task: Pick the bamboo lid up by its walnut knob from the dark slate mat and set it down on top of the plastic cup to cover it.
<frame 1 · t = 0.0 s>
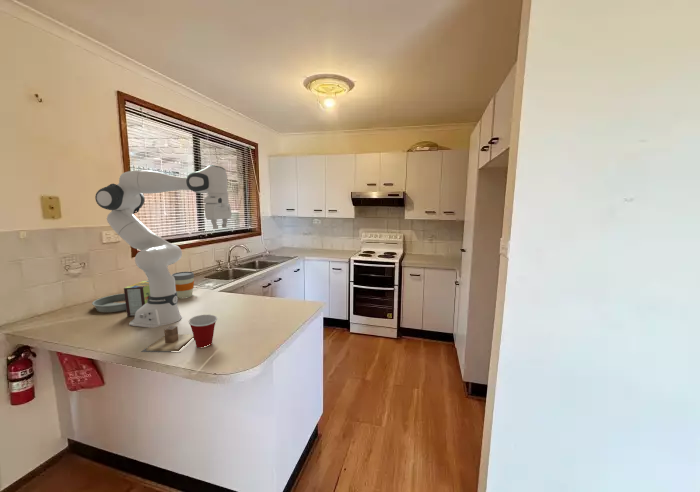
hand: (220, 228, 141), 48 cm above the table, fingers open, 8 cm apart
mat: (172, 344, 123), on the table
protein box: (146, 311, 160), on the table, touching arm
lid: (172, 343, 123), resting on mat
cake pan: (120, 306, 169), on the table
reusable coffee cup: (184, 296, 187), on the table
plastic cup: (204, 346, 122), on the table
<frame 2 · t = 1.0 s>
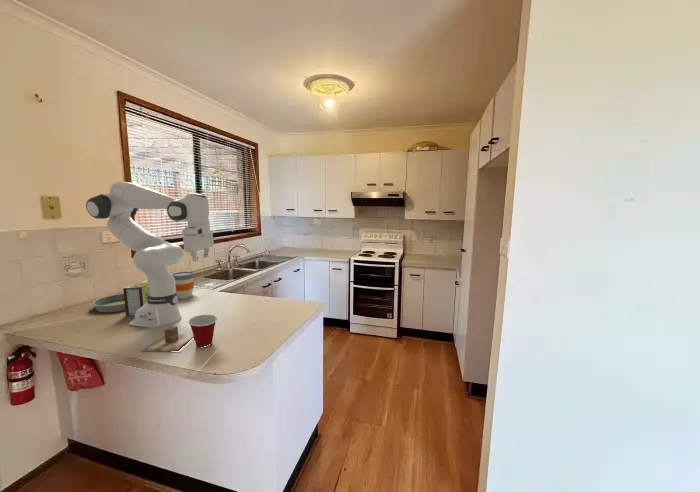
hand: (200, 259, 133), 34 cm above the table, fingers open, 8 cm apart
protein box: (145, 311, 161), on the table
everything else where it was.
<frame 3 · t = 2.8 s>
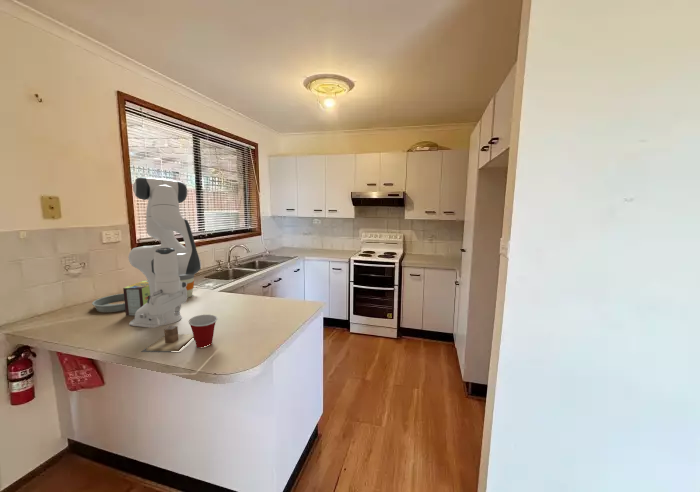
hand: (170, 319, 121), 11 cm above the table, fingers open, 8 cm apart
nothing on the table moved.
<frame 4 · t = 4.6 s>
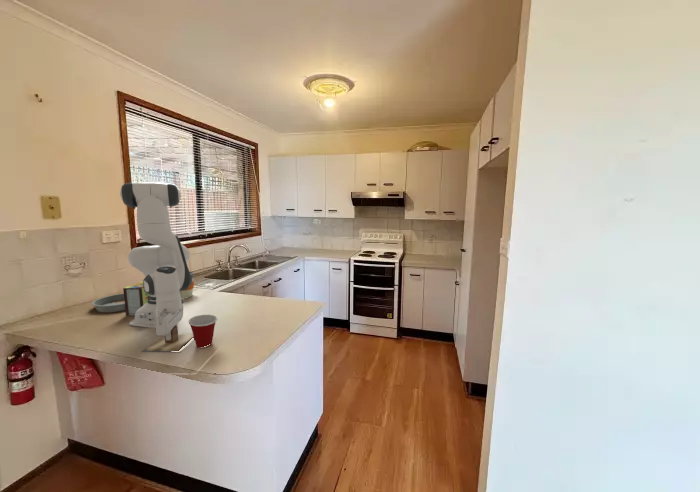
hand: (171, 336, 123), 3 cm above the table, fingers closed on lid, 4 cm apart
lid: (172, 343, 123), resting on mat, touching gripper
everything else where it was.
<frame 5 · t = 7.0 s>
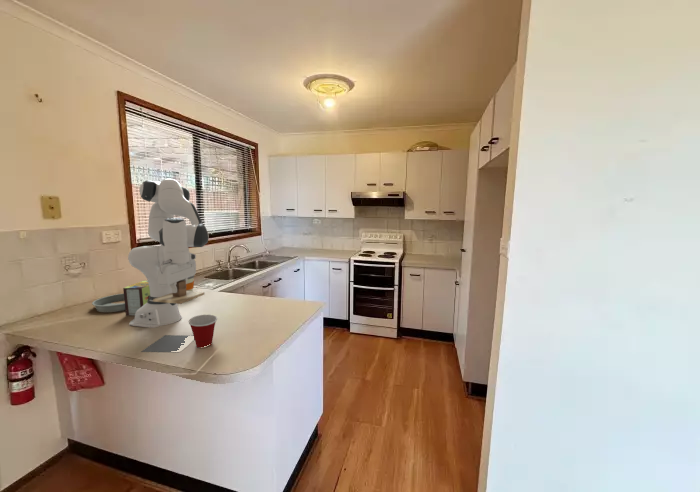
hand: (179, 290, 119), 24 cm above the table, fingers closed on lid, 4 cm apart
lid: (179, 297, 119), point 21 cm above the table, touching gripper
everything else where it was.
when the fingers open (16 cm above the table, at t = 9.6 s): lid stays where it is, resting on plastic cup.
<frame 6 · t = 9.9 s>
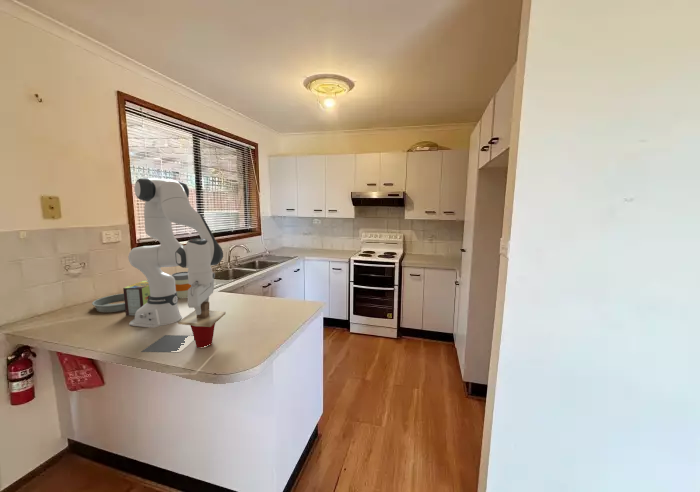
hand: (202, 310, 120), 16 cm above the table, fingers open, 7 cm apart
lid: (203, 318, 120), point 12 cm above the table, touching plastic cup
plastic cup: (204, 346, 122), on the table, touching lid
everything else where it was.
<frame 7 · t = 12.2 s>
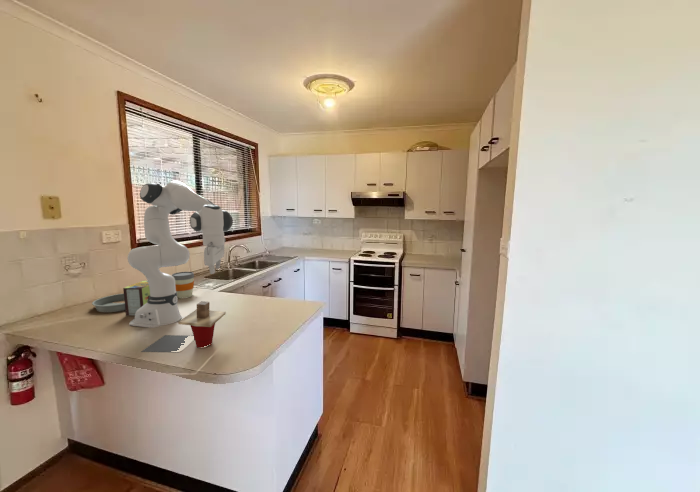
hand: (215, 270, 132), 29 cm above the table, fingers open, 8 cm apart
nothing on the table moved.
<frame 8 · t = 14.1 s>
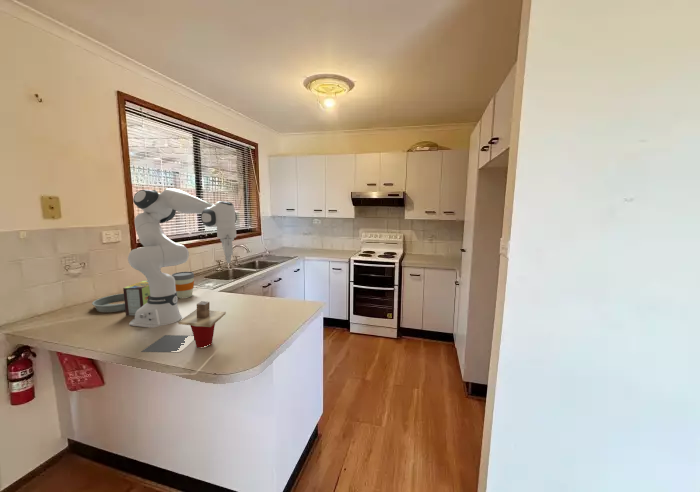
hand: (228, 261, 145), 31 cm above the table, fingers open, 8 cm apart
nothing on the table moved.
at the end: lid inside the target area in the plastic cup (0.1 cm from its centre), point 12.2 cm above the plastic cup's base; lid tilted 4°; the gripper is holding nothing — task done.
